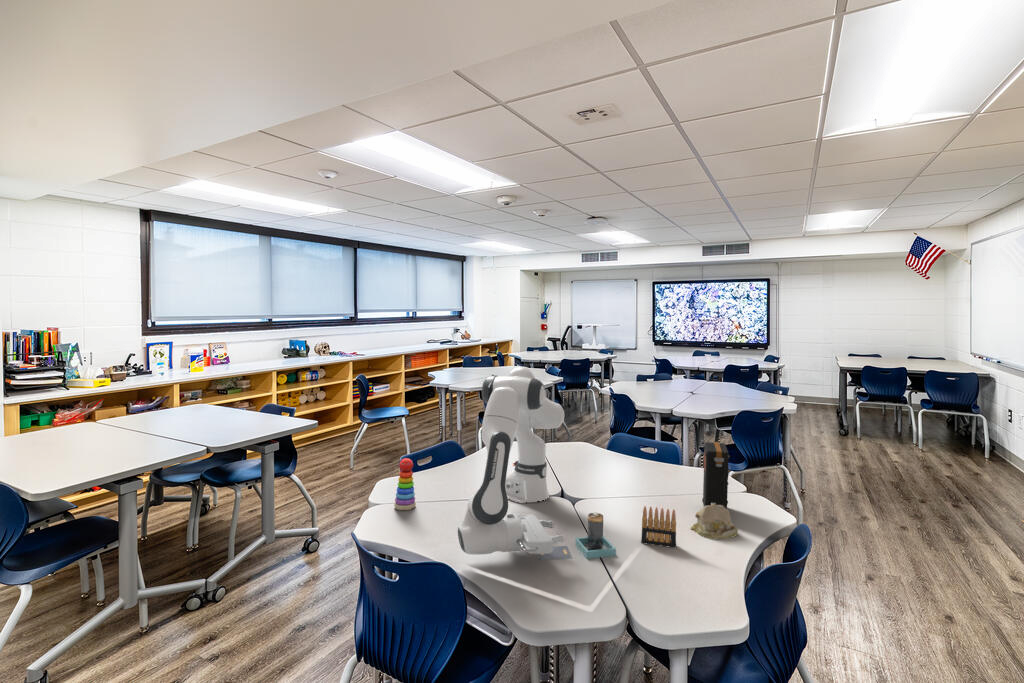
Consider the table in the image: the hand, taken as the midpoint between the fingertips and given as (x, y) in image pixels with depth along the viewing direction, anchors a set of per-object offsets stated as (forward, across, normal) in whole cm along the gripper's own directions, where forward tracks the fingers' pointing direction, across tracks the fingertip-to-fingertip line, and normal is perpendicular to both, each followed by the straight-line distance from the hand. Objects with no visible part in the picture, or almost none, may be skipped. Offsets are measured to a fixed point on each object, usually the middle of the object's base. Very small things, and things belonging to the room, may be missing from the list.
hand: (558, 530), depth 146 cm
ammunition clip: (+34, +1, +8) cm, 35 cm away
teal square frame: (+12, 0, +8) cm, 15 cm away
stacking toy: (-44, +50, +8) cm, 67 cm away
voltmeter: (+69, +20, +8) cm, 72 cm away
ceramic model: (+58, +6, +8) cm, 58 cm away
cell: (+12, 0, +8) cm, 14 cm away
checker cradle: (-1, +1, +8) cm, 8 cm away
